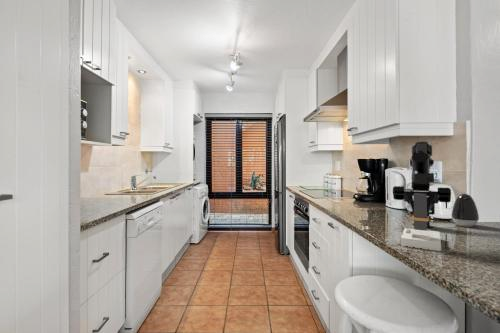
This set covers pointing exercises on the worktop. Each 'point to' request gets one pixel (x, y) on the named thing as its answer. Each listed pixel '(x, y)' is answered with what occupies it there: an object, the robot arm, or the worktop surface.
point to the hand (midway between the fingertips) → (420, 211)
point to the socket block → (421, 239)
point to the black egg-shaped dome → (465, 211)
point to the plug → (420, 212)
